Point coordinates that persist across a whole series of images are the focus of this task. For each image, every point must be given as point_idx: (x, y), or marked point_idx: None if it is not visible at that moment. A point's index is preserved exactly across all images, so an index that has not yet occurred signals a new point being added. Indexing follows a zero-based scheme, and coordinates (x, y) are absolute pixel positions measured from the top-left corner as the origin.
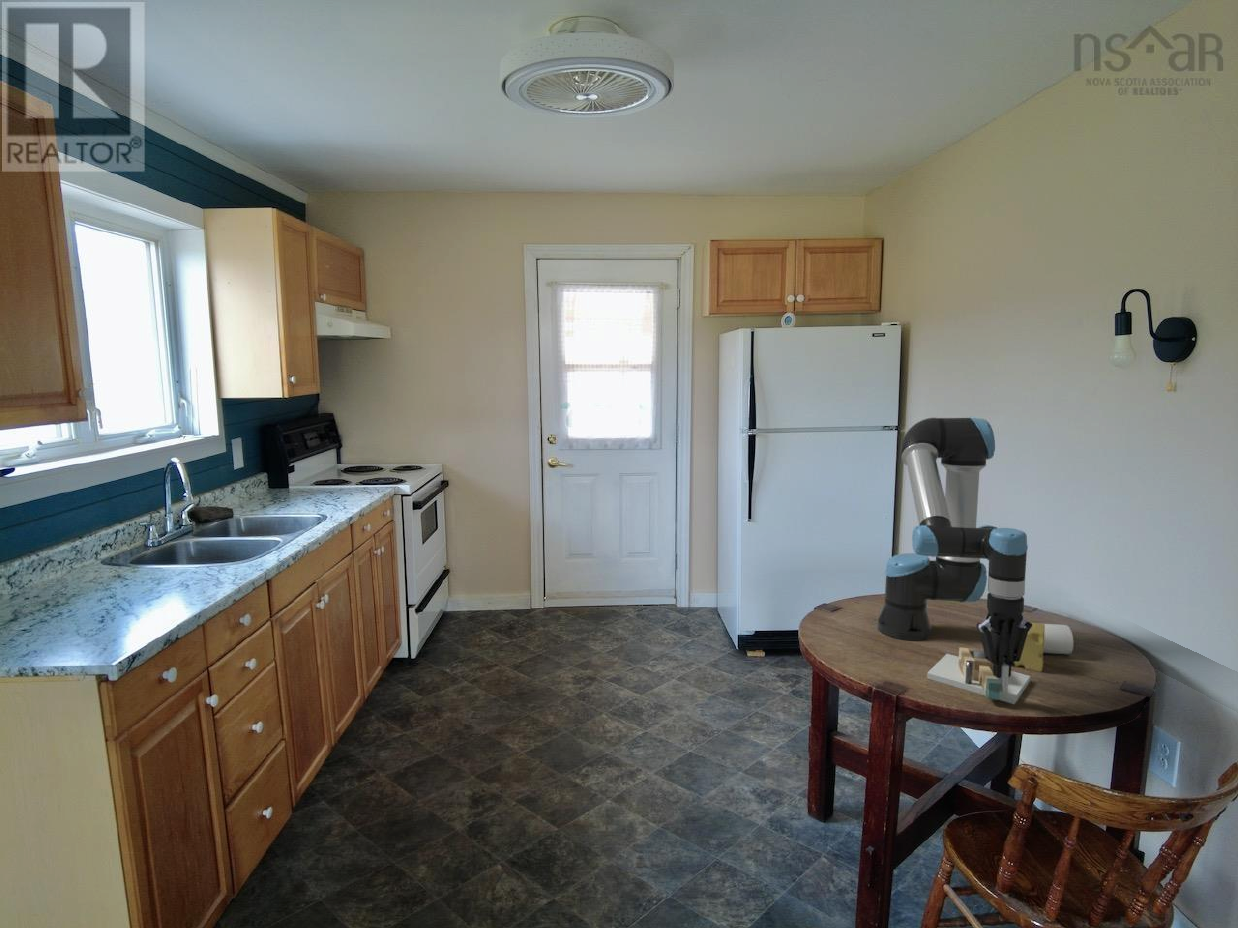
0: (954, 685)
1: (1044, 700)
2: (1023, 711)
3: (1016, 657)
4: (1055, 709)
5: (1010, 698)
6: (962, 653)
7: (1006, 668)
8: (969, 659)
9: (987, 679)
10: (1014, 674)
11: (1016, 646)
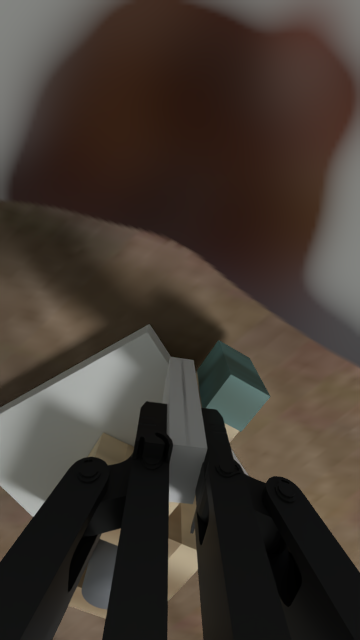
0: (240, 465)
1: (16, 313)
2: (159, 274)
3: (96, 489)
4: (26, 247)
5: (155, 341)
6: (169, 596)
7: (185, 432)
8: (191, 557)
9: (248, 420)
10: (4, 461)
11: (43, 615)
